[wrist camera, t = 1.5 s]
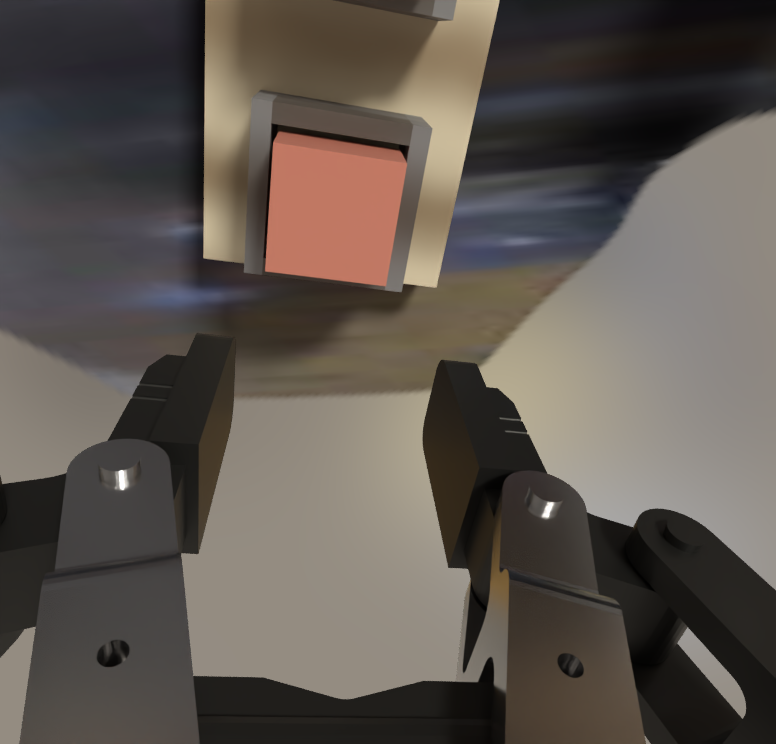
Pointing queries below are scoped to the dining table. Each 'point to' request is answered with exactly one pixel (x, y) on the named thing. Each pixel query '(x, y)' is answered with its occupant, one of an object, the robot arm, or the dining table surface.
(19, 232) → the dining table surface
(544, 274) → the dining table surface
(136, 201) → the dining table surface
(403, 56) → the key panel
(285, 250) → the red key
